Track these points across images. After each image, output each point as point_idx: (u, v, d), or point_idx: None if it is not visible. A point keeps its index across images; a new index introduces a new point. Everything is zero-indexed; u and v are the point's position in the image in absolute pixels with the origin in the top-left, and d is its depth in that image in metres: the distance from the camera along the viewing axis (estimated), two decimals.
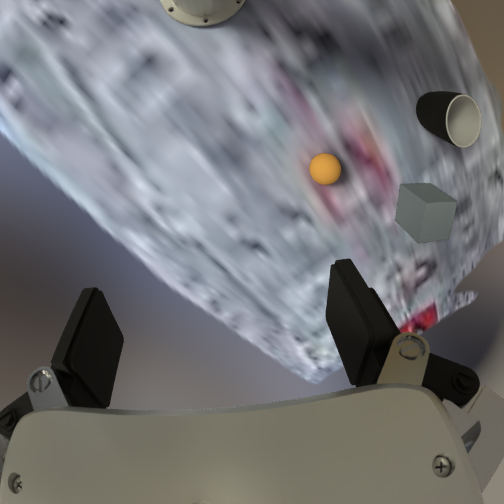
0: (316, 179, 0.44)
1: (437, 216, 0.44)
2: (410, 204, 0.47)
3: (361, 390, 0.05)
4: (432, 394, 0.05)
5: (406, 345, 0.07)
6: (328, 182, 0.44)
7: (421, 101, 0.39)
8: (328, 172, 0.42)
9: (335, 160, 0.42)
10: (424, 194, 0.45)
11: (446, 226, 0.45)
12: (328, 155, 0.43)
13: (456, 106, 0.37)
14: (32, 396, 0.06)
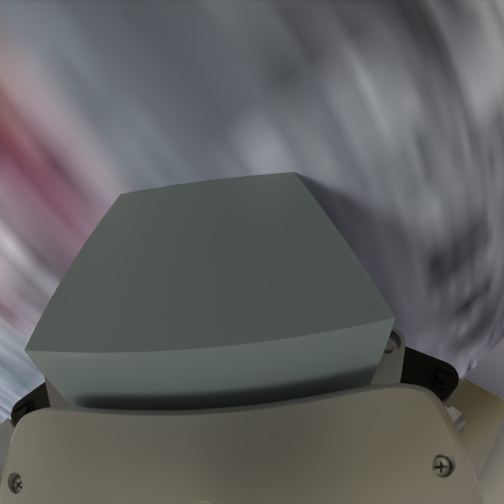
0: None
1: None
2: None
3: (361, 390, 0.05)
4: (432, 394, 0.05)
5: None
6: None
7: None
8: None
9: None
10: (132, 257, 0.08)
11: None
12: None
13: None
14: (51, 386, 0.07)
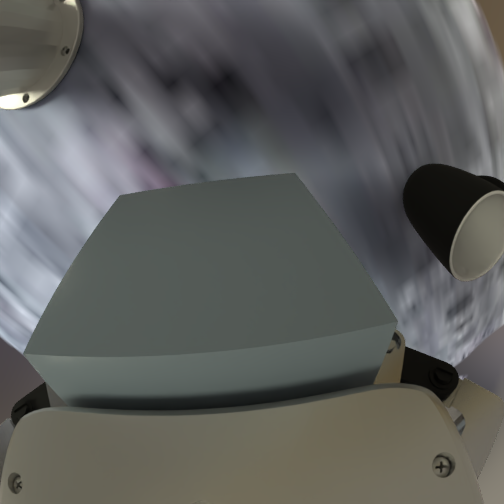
0: None
1: None
2: None
3: (361, 390, 0.05)
4: (432, 394, 0.05)
5: None
6: None
7: (413, 185, 0.25)
8: None
9: None
10: (132, 259, 0.07)
11: None
12: None
13: None
14: None
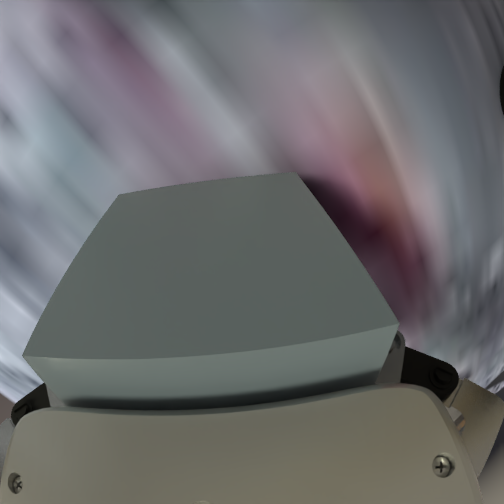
0: None
1: None
2: None
3: (361, 390, 0.05)
4: (432, 394, 0.05)
5: None
6: None
7: None
8: None
9: None
10: (131, 259, 0.07)
11: None
12: None
13: None
14: None
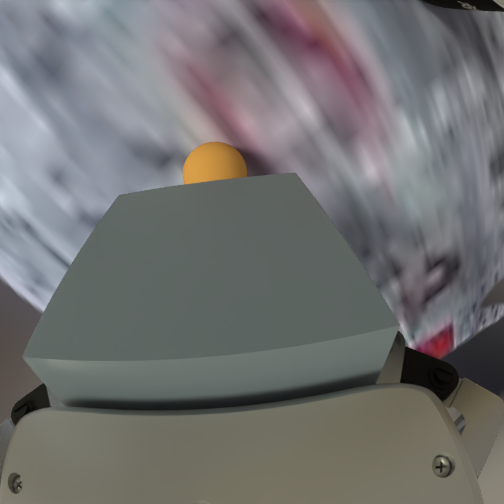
0: (189, 155, 0.22)
1: None
2: None
3: (361, 390, 0.05)
4: (432, 394, 0.05)
5: None
6: (210, 142, 0.22)
7: None
8: None
9: None
10: (131, 261, 0.07)
11: None
12: None
13: None
14: None
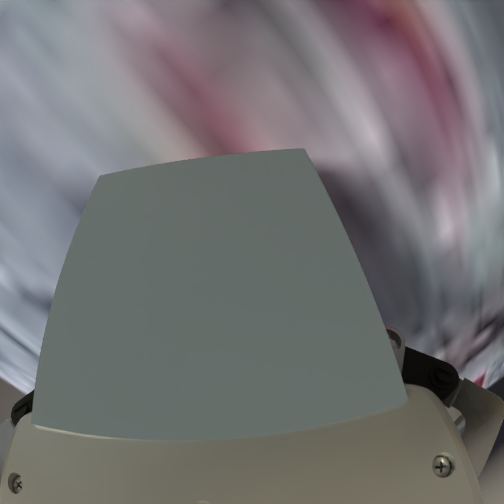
0: None
1: None
2: None
3: None
4: (432, 394, 0.05)
5: None
6: None
7: None
8: None
9: None
10: (120, 294, 0.06)
11: None
12: None
13: None
14: None
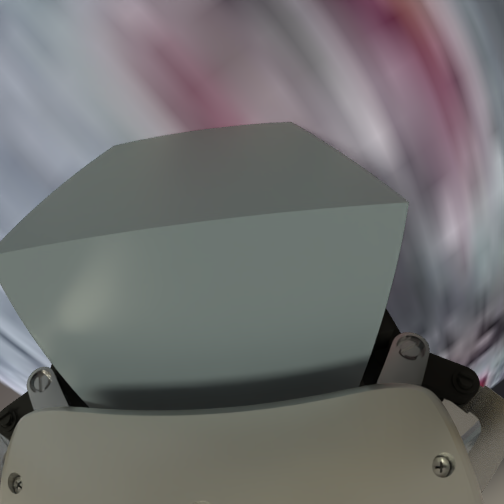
0: None
1: (168, 350, 0.06)
2: None
3: (361, 390, 0.05)
4: (432, 394, 0.05)
5: (406, 345, 0.07)
6: None
7: None
8: None
9: None
10: (117, 176, 0.07)
11: (308, 388, 0.07)
12: None
13: None
14: (32, 396, 0.06)
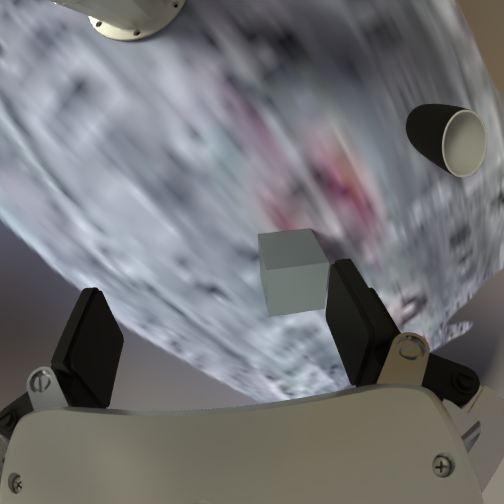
0: None
1: (293, 284, 0.37)
2: (262, 264, 0.40)
3: (361, 390, 0.05)
4: (432, 394, 0.05)
5: (406, 345, 0.07)
6: None
7: (412, 116, 0.33)
8: None
9: None
10: (279, 253, 0.38)
11: (315, 294, 0.38)
12: None
13: (456, 122, 0.31)
14: (32, 396, 0.06)
